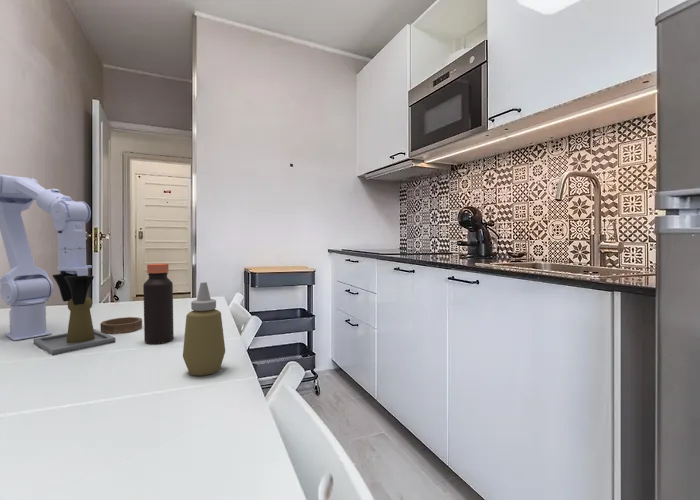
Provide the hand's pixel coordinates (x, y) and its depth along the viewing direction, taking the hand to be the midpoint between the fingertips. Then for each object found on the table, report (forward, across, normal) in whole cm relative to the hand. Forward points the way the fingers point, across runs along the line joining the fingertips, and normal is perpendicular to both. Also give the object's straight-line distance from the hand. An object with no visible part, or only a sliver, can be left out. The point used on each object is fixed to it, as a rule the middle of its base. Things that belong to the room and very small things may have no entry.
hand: (73, 302), depth 94 cm
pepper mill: (+10, 0, -1) cm, 10 cm away
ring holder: (+10, +5, -13) cm, 17 cm away
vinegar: (+11, -15, -14) cm, 23 cm away
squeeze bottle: (+10, -44, -9) cm, 46 cm away
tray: (+10, 0, 0) cm, 10 cm away
